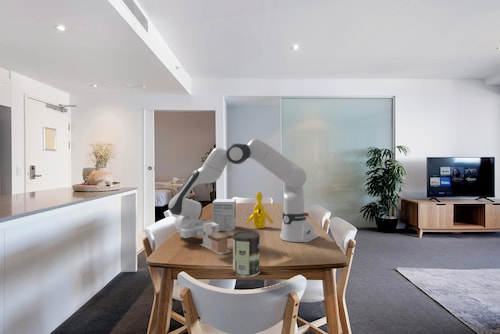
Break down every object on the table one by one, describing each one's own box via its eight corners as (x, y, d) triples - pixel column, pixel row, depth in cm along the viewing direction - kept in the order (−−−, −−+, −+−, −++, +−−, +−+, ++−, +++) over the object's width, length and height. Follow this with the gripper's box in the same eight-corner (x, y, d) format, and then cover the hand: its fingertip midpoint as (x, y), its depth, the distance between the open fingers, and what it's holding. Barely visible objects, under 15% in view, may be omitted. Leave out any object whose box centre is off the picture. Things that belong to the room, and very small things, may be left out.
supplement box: (233, 231, 162) (233, 202, 161) (211, 230, 163) (211, 201, 162) (236, 226, 175) (236, 198, 175) (216, 225, 176) (216, 198, 175)
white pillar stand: (210, 244, 135) (210, 222, 134) (232, 254, 121) (232, 229, 121) (199, 247, 131) (199, 223, 130) (220, 257, 117) (220, 231, 117)
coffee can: (256, 265, 108) (257, 230, 108) (262, 276, 98) (262, 237, 98) (231, 267, 107) (231, 231, 106) (233, 278, 96) (234, 239, 96)
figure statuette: (246, 229, 167) (246, 193, 167) (244, 226, 175) (245, 191, 174) (274, 228, 169) (274, 193, 168) (272, 225, 177) (272, 191, 176)
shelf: (235, 250, 127) (235, 229, 127) (244, 254, 122) (244, 232, 122) (207, 257, 118) (207, 235, 117) (216, 261, 112) (216, 238, 112)
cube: (220, 247, 127) (220, 236, 127) (227, 250, 123) (227, 239, 123) (211, 249, 123) (211, 238, 123) (217, 252, 120) (217, 241, 119)
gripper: (175, 224, 134) (188, 230, 124) (210, 219, 147) (225, 223, 137) (175, 237, 134) (188, 244, 124) (210, 230, 147) (225, 236, 137)
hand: (208, 233), depth 130 cm, fingers closed on white pillar stand, 3 cm apart
